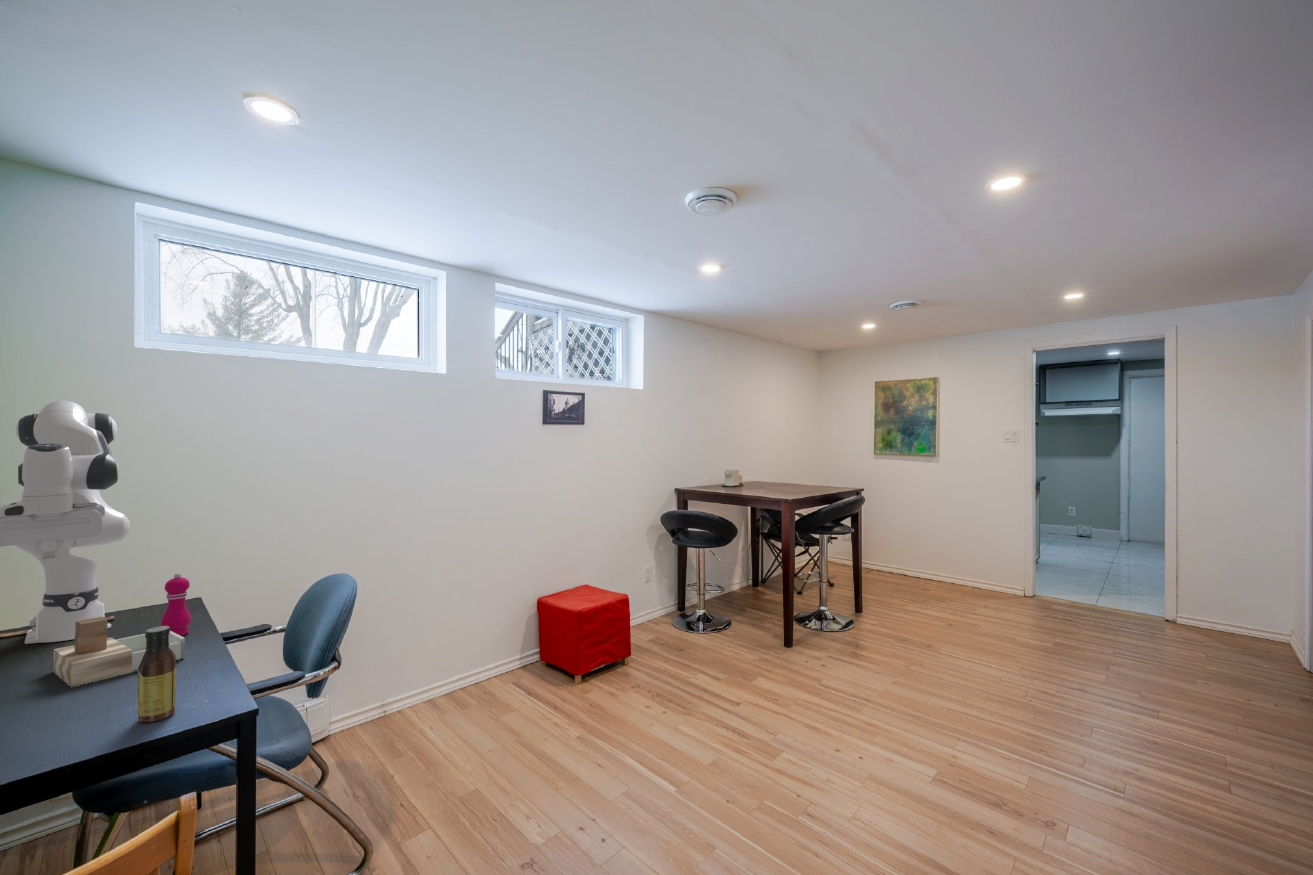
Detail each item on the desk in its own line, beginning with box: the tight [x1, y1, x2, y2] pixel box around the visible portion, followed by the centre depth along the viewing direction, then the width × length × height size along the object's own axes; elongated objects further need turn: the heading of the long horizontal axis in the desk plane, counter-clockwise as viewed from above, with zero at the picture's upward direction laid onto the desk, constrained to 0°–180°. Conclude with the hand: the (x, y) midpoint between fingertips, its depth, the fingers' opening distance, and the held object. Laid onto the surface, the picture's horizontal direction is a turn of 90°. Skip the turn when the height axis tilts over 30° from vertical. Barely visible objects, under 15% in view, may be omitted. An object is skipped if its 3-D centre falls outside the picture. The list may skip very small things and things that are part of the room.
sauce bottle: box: [137, 625, 177, 723], centre depth 119 cm, size 7×6×20 cm
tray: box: [116, 631, 186, 673], centre depth 152 cm, size 18×11×6 cm, turn 58°
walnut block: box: [73, 616, 109, 655], centre depth 142 cm, size 5×5×8 cm
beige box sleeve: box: [52, 636, 133, 689], centre depth 142 cm, size 18×11×6 cm, turn 58°
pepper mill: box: [160, 572, 192, 637], centre depth 171 cm, size 7×7×20 cm
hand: (48, 558), depth 139 cm, fingers closed
